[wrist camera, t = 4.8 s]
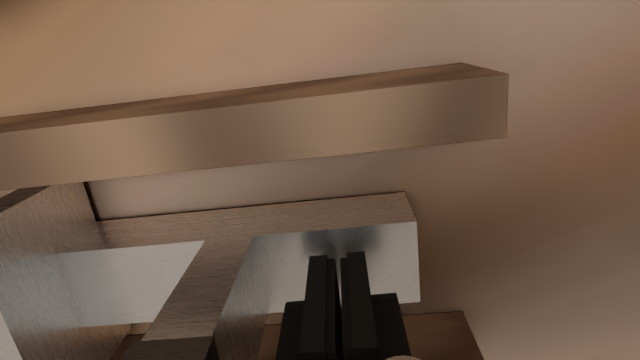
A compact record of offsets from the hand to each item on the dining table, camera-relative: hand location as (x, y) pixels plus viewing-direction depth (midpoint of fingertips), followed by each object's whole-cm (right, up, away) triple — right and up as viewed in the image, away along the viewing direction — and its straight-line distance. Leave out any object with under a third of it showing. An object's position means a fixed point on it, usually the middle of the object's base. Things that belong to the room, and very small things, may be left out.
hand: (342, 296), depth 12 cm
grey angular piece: (-4, +1, +4) cm, 6 cm away
